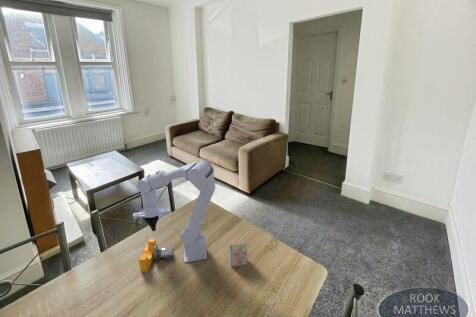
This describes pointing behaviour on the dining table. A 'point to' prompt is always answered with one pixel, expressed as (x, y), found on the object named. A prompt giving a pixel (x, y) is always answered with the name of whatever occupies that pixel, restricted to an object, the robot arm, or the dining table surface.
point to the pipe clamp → (147, 256)
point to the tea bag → (238, 254)
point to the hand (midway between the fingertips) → (154, 229)
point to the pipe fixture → (163, 253)
